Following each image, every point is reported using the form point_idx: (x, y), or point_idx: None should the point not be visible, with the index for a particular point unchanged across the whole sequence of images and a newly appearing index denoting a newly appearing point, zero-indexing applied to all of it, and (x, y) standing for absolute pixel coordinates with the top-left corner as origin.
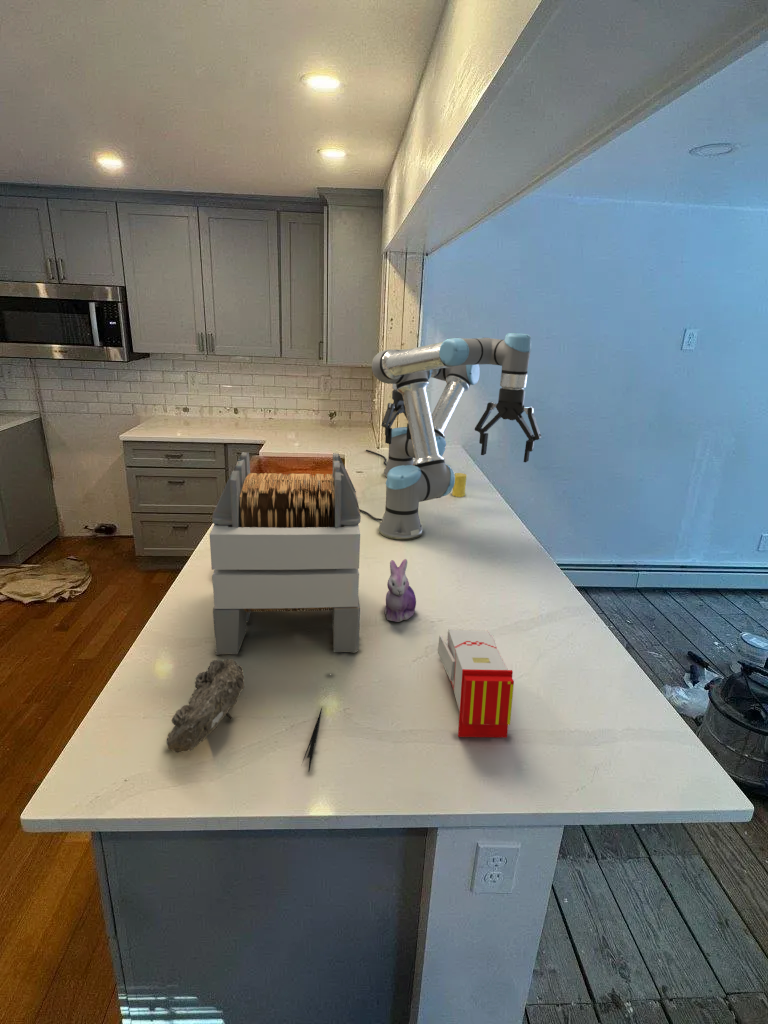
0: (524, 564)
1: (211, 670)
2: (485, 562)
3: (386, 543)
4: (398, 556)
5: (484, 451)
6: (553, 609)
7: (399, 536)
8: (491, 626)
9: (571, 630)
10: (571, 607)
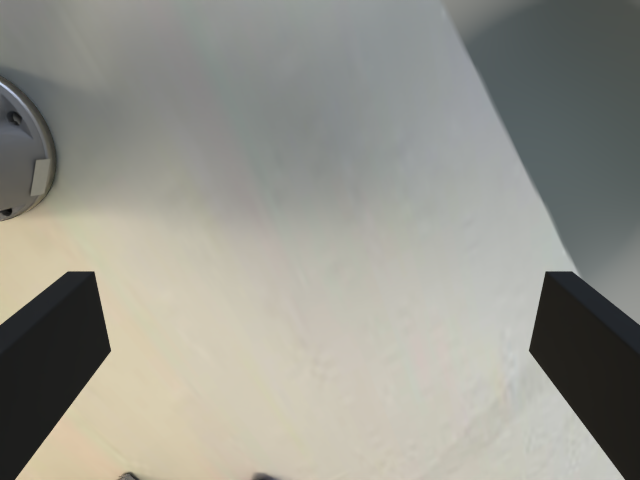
0: (427, 152)
1: None
2: (319, 207)
3: (17, 250)
4: (105, 306)
5: (87, 346)
6: None
7: (19, 214)
8: (428, 460)
9: None
10: None
